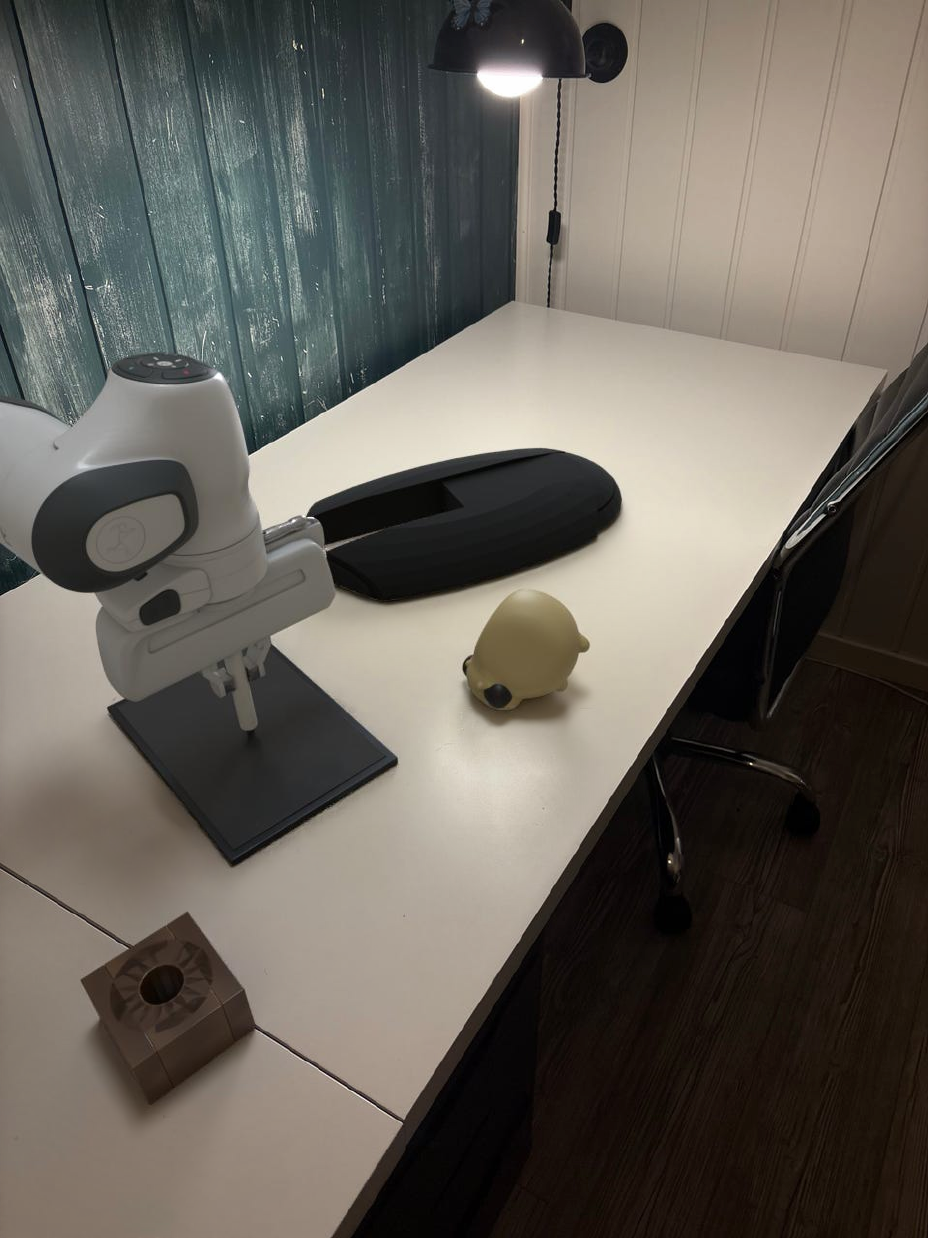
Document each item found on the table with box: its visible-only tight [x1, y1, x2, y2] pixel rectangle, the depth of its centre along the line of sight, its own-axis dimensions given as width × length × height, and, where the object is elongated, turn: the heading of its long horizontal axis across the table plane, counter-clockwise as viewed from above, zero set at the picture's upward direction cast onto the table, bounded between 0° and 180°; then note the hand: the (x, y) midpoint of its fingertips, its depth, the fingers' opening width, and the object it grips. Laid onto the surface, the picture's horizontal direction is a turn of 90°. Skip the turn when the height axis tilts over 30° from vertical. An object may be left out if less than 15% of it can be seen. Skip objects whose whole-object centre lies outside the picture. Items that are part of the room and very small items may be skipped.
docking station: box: [305, 447, 623, 602], centre depth 113 cm, size 25×40×5 cm, turn 116°
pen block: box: [80, 911, 257, 1106], centre depth 63 cm, size 8×8×5 cm
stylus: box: [224, 650, 258, 735], centre depth 80 cm, size 2×2×14 cm
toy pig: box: [461, 588, 591, 711], centre depth 88 cm, size 10×12×11 cm
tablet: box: [106, 643, 399, 867], centre depth 86 cm, size 17×24×1 cm
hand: (239, 683), depth 81 cm, fingers closed on stylus, 1 cm apart
